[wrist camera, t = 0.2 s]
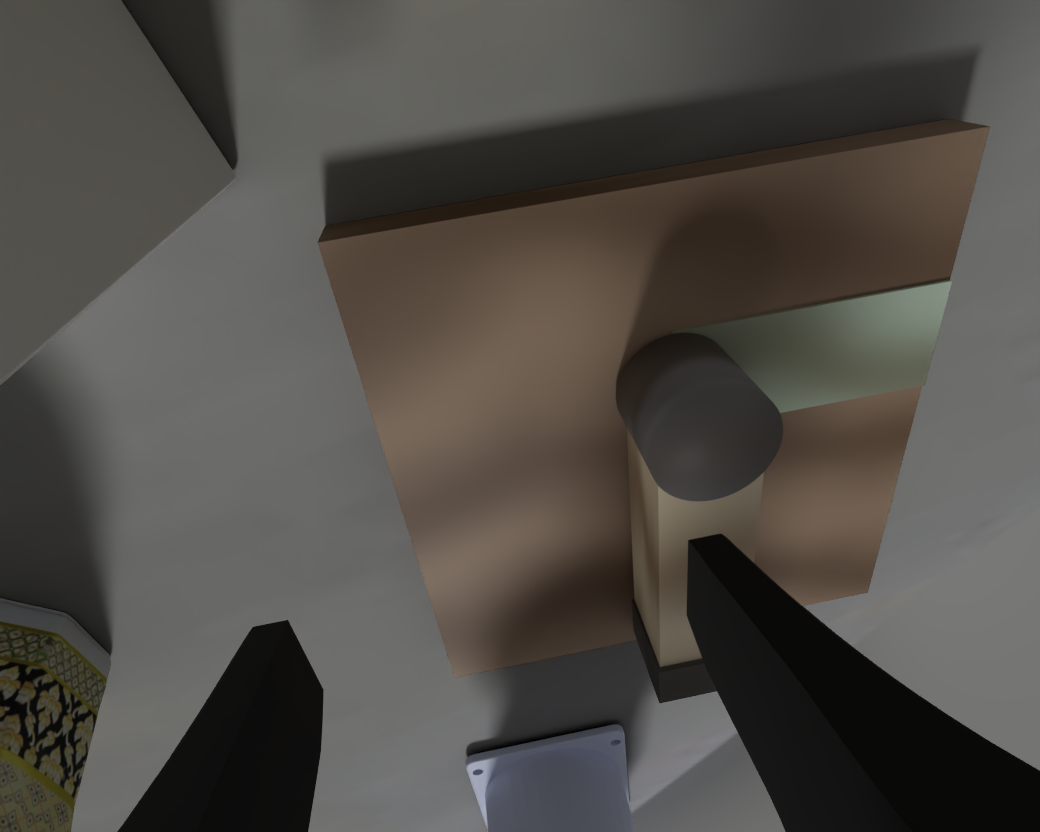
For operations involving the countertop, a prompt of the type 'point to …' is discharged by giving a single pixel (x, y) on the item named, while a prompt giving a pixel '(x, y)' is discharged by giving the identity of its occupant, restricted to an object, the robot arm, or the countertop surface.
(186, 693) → the countertop surface
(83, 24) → the milk carton
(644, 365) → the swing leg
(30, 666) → the ceramic cup
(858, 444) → the wooden board
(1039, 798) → the robot arm
